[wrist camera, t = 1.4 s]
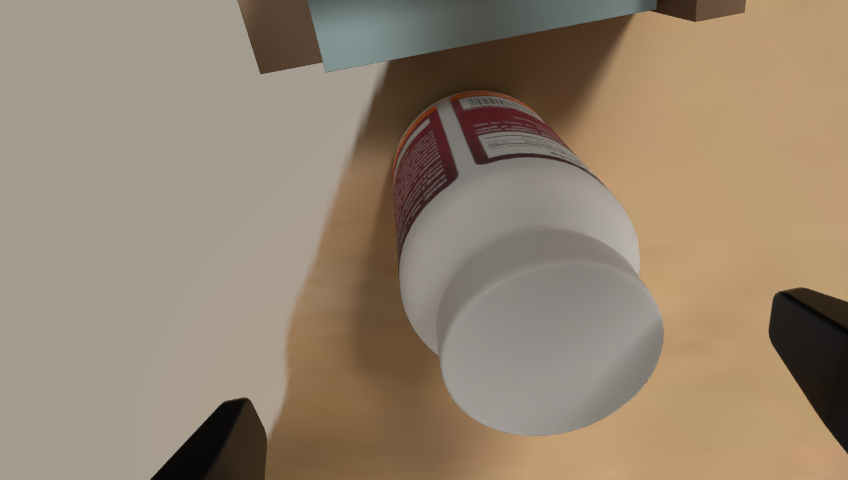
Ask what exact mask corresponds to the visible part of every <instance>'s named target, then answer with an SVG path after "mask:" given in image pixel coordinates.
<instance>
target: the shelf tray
mask: <svg viewBox="0 0 848 480" xmlns="http://www.w3.org/2000/svg"><path fill="white" fill-rule="evenodd" d="M238 3H239V7H240V10H241V13H242V16H243V20H244V23H245V26H246V29H247V32H248V35H249V39H250V42H251V45H252V48H253V51H254V55H255V58H256V61H257V63H258V67H259V71H260V74H264V73H269V72H274V71H280V70H285V69H290V68H295V67H301V66H306V65H311V64H316V63H321V62H323V63H324V67H325V71H326V72H331V71H336V70H342V69H347V68H352V67H357V66H362V65H368V64H373V63H378V62H383V61H388V60H394V59H399V58H404V57H409V56H415V55H420V54H425V53H430V52H435V51H441V50H446V49H451V48H456V47H462V46H467V45H472V44H477V43H482V42H488V41H493V40H498V39H503V38H509V37H514V36H519V35H524V34H529V33H535V32H540V31H545V30H550V29H556V28H561V27H566V26H571V25H576V24H582V23H587V22H592V21H597V20H603V19H608V18H613V17H618V16H623V15H629V14H634V13H639V12H644V11H653V12H657V13H661V14H665V15H669V16H673V17H677V18H681V19H686V20H690V21H694V22H697V21H703V20H708V19H713V18H718V17H724V16H729V15H734V14H739V13H745V4H746V0H238Z"/></svg>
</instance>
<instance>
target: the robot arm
mask: <svg viewBox="0 0 848 480" xmlns="http://www.w3.org/2000/svg"><path fill="white" fill-rule="evenodd" d="M769 337H770V340H771V343H772V345H773V347H774V348H775V350H776V351H777V353H778V354H779V356H780V357H781V359H782V360H783V362H784V364H785V365H786V367H787V368H788V370H789V371H790V373H791V374H792V376H793V377H794V379H795V381H796V382H797V384H798V385H799V387H800V388H801V390H802V391H803V393H804V394H805V396H806V398H807V399H808V401H809V402H810V404H811V405H812V407H813V408H814V410H815V411H816V413H817V414H818V416H819V417H820V419H821V420H822V421H823V423H824V424H825V426H826V427H827V428H828V430H829V431H830V432H831V433H832V435H833V436H834V437H835V439H836V440H837V441H838V442H839V444H840V445H841V446H842V447H843V449H844V450H845V451H846V452H847V454H848V302H846V301H843V300H840V299H837V298H834V297H831V296H828V295H825V294H822V293H819V292H816V291H813V290H810V289H807V288H802V287H801V288H794V289H789V290H784V291H780V292H778V293H776V294H775V296H774V297H773V302H772V309H771V316H770V324H769ZM266 450H267V437H266V432H265V429H264V427H263V425H262V423H261V421H260V419H259V416H258V414H257V413H256V410H255V408H254V406H253V404H252V402H251V401H250V400H249V399H248V398H239V399H234V400H229V401H225V402H223V403H222V404H221V405H220V406H219V407H218V408H217V409H216V410H215V411H214V412H213V413H212V415H210V416H209V418H208V419H207V420H206V421H205V422H204V423H203V424H202V425H201V426H200V427H199V428H198V429H197V430H196V431H195V432H194V434H193V435H192V436H191V437H190V438H189V439H188V440H187V441H186V442H185V443H184V444H183V445H182V446H181V447H180V448H179V450H178V451H177V452H176V453H175V454H174V455H173V456H172V457H171V458H170V459H169V460H168V461H167V462H166V464H164V466H163V467H162V468H161V469H160V470H159V471H158V472H157V473H156V474H155V475H154V476H153V477H152V478H151V480H264V479H265V465H266Z"/></svg>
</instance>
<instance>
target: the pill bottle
mask: <svg viewBox="0 0 848 480" xmlns="http://www.w3.org/2000/svg"><path fill="white" fill-rule="evenodd" d="M392 182H393V194H394V207H395V222H396V235H397V251H398V268H399V281H400V290H401V298H402V302H403V306H404V309H405V312H406V314H407V316H408V319H409V321H410V323H411V325H412V327H413V328H414V330H415V332H416V333H417V335H418V336H419V337H420V338H421V339H422V341H423V342H424V343H425V344H426V345H427V346H428V347H429V348H430V349H431V350H432V351H433V352H434V353H435V354H436V355H438V356H439V361H440V368H441V374H442V377H443V381H444V384H445V386H446V388H447V390H448V392H449V394H450V396H451V397H452V398H453V400H454V402H455V403H456V404H457V405H458V406H459V407H460V408H461V409H462V410H463V411H464V412H465V413H466V414H467V415H468V416H470V417H471V418H473V419H474V420H476V421H478V422H479V423H481V424H483V425H485V426H487V427H489V428H492V429H495V430H498V431H501V432H505V433H509V434H515V435H522V436H547V435H555V434H561V433H566V432H570V431H574V430H577V429H580V428H583V427H586V426H589V425H591V424H593V423H595V422H597V421H600V420H602V419H604V418H605V417H607V416H609V415H610V414H612V413H613V412H615V411H617V410H618V409H619V408H621V407H622V406H623V405H625V404H626V403H627V402H628V401H630V400H631V399H632V398H633V397H634V396H635V395H636V394H637V393H638V392H639V391H640V389H641V388H642V387H643V386H644V384H645V383H646V382H647V381H648V379H649V378H650V376H651V374H652V373H653V371H654V369H655V367H656V365H657V362H658V360H659V357H660V354H661V351H662V346H663V334H664V330H663V320H662V316H661V313H660V310H659V307H658V305H657V303H656V301H655V299H654V297H653V296H652V294H651V293H650V291H649V290H648V288H647V287H646V286H645V284H644V283H643V281H642V280H641V278H640V277H639V272H640V251H639V245H638V240H637V236H636V233H635V229H634V227H633V224H632V222H631V220H630V218H629V216H628V215H627V213H626V211H625V209H624V208H623V206H622V205H621V204H620V203H619V201H618V200H617V199H616V198H615V197H614V196H613V194H612V193H611V192H610V191H609V190H608V189H607V187H606V186H605V185H604V184H603V183H602V182H601V181H600V180H599V179H598V178H597V177H596V176H595V175H594V174H593V173H592V172H591V171H590V170H589V169H588V167H587V166H586V165H585V164H584V163H583V162H582V161H581V160H580V159H579V158H578V157H577V156H576V155H575V154H574V153H573V152H572V150H571V149H570V148H569V147H568V146H567V145H566V144H565V143H564V142H563V141H562V140H561V139H560V138H559V136H558V135H556V133H555V132H554V131H553V130H552V129H551V128H550V127H549V126H548V125H547V124H546V123H545V122H544V121H543V120H542V118H541V117H540V116H539V115H538V114H537V113H536V112H535V111H533V110H532V109H531V108H529V107H528V106H527V105H525V104H524V103H522V102H520V101H519V100H517V99H515V98H513V97H510V96H508V95H505V94H502V93H498V92H494V91H485V90H473V91H465V92H461V93H457V94H453V95H450V96H447V97H445V98H443V99H441V100H439V101H437V102H435V103H433V104H432V105H430V106H429V107H427V108H426V109H425V110H424V111H423V112H421V113H420V114H419V115H418V117H417V118H416V119H415V120H414V121H413V122H412V123H411V124H410V126H409V127H408V128H407V130H406V131H405V133H404V135H403V136H402V138H401V140H400V142H399V145H398V147H397V150H396V154H395V158H394V164H393V177H392Z"/></svg>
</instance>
